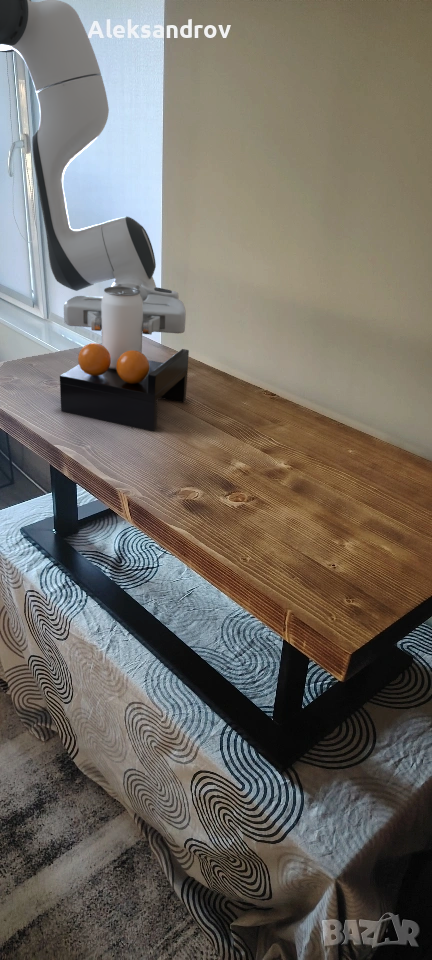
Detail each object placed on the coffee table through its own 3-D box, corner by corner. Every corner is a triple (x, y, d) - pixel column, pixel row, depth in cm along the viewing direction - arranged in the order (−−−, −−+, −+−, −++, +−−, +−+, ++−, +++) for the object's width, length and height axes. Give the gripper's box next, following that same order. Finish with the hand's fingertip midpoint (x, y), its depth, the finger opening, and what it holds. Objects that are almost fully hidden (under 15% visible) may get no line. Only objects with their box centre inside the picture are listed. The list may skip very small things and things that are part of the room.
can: (149, 364, 104) (151, 291, 98) (123, 374, 99) (124, 297, 93) (120, 355, 107) (120, 283, 101) (93, 364, 102) (92, 289, 96)
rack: (61, 411, 100) (57, 344, 94) (102, 383, 111) (101, 322, 106) (153, 431, 96) (156, 362, 90) (185, 400, 107) (189, 338, 102)
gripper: (69, 283, 109) (54, 302, 97) (186, 292, 110) (185, 312, 98) (71, 319, 112) (56, 342, 100) (184, 327, 113) (183, 351, 101)
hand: (121, 327), depth 99 cm, fingers open, 7 cm apart
